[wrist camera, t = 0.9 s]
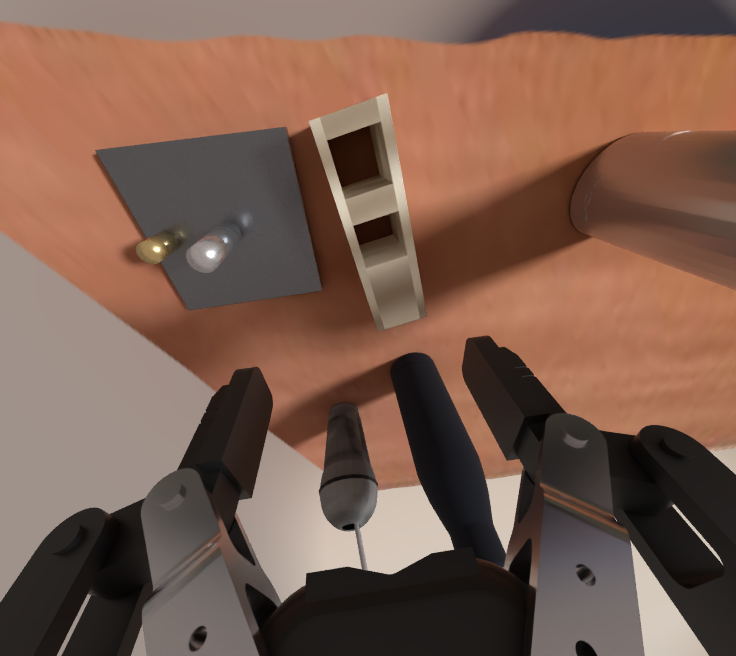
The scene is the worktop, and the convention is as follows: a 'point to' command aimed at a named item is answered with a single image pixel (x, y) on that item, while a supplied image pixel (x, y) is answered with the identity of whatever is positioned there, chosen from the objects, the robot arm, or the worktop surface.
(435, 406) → the wine bottle
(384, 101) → the bar
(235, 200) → the mounting plate
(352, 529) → the grey tapered rounded cylinder
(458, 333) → the worktop surface
